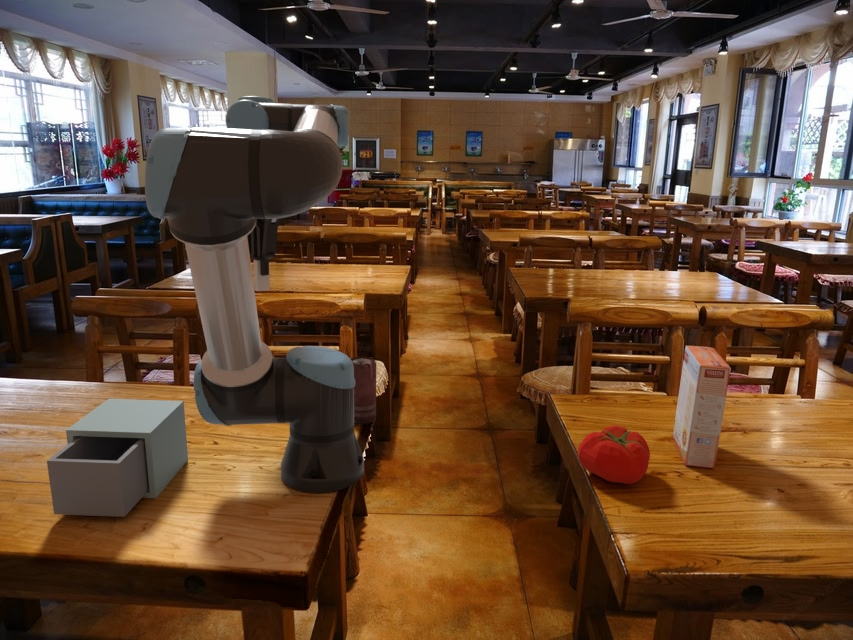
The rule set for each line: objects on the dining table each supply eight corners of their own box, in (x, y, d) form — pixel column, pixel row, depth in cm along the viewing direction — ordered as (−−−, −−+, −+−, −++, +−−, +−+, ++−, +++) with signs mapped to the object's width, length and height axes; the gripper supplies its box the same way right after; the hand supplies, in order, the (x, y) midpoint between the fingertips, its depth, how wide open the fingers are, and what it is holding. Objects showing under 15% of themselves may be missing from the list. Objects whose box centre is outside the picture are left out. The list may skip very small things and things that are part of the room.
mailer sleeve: (115, 457, 121) (108, 398, 118) (188, 459, 121) (183, 400, 118) (74, 495, 107) (65, 430, 104) (156, 498, 107) (150, 432, 104)
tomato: (599, 499, 111) (604, 453, 109) (565, 465, 123) (569, 423, 120) (667, 490, 115) (673, 445, 112) (628, 458, 126) (633, 417, 124)
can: (363, 428, 137) (364, 366, 133) (342, 420, 141) (342, 360, 137) (382, 419, 142) (382, 359, 138) (361, 412, 145) (361, 353, 142)
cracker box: (716, 470, 122) (732, 367, 117) (683, 466, 123) (698, 364, 118) (701, 439, 136) (715, 346, 130) (671, 436, 137) (684, 343, 131)
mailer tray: (127, 446, 123) (122, 401, 120) (184, 448, 123) (181, 403, 120) (54, 514, 100) (46, 460, 97) (124, 516, 99) (119, 463, 97)
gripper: (291, 177, 128) (293, 292, 133) (259, 176, 137) (263, 284, 142) (257, 176, 123) (261, 296, 128) (226, 175, 132) (231, 287, 137)
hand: (262, 290), depth 135 cm, fingers closed
